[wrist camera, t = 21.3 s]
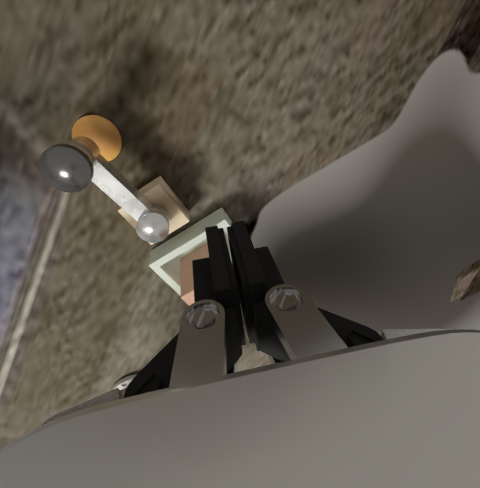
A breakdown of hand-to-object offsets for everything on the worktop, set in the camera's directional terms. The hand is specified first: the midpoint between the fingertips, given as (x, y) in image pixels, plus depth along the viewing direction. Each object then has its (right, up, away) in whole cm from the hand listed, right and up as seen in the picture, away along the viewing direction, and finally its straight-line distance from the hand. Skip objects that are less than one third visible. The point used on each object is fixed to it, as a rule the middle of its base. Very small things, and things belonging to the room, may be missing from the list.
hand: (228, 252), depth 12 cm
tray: (-5, -1, +30) cm, 31 cm away
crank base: (-13, +9, +22) cm, 27 cm away
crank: (-13, +7, +20) cm, 24 cm away
